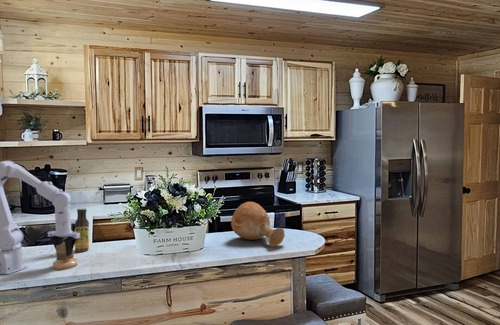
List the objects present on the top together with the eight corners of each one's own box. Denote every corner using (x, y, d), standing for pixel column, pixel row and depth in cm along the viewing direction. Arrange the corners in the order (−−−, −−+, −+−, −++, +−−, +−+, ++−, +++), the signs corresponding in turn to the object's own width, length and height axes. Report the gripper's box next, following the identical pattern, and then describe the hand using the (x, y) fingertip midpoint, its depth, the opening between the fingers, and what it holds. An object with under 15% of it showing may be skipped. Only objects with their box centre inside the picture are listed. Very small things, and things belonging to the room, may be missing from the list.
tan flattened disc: (66, 270, 158) (65, 265, 158) (48, 268, 161) (47, 263, 160) (81, 263, 167) (81, 258, 166) (64, 261, 169) (64, 257, 169)
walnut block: (65, 260, 161) (65, 246, 160) (56, 260, 162) (56, 245, 162) (73, 257, 165) (73, 243, 165) (64, 256, 166) (64, 242, 166)
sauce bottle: (74, 253, 182) (72, 210, 181) (74, 249, 188) (73, 208, 187) (90, 251, 185) (88, 209, 183) (89, 248, 190) (88, 207, 189)
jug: (259, 210, 217) (299, 225, 195) (241, 240, 212) (280, 259, 190) (237, 191, 205) (277, 205, 183) (218, 223, 200) (257, 241, 178)
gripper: (84, 220, 164) (86, 252, 165) (56, 219, 168) (57, 250, 169) (72, 224, 157) (73, 257, 158) (43, 222, 162) (44, 255, 162)
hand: (64, 254), depth 163 cm, fingers closed on walnut block, 4 cm apart
